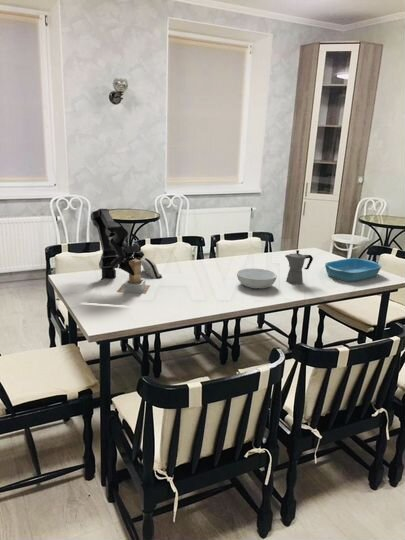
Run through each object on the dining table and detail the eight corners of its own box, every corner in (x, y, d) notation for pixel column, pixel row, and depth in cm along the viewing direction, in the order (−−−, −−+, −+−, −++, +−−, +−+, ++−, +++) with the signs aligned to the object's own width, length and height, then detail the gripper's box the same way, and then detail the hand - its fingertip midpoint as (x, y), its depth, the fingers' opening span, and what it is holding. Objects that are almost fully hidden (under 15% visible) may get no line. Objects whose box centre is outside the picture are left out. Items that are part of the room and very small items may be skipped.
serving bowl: (252, 277, 249) (253, 265, 247) (283, 287, 235) (284, 274, 233) (228, 284, 235) (228, 272, 233) (258, 295, 221) (260, 282, 219)
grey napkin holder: (162, 277, 241) (157, 261, 237) (154, 281, 239) (149, 265, 235) (152, 269, 255) (146, 253, 251) (144, 272, 254) (139, 257, 249)
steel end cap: (124, 292, 212) (124, 283, 211) (128, 286, 220) (128, 278, 219) (141, 293, 212) (141, 284, 210) (145, 288, 220) (145, 279, 218)
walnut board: (116, 293, 212) (116, 291, 212) (123, 285, 225) (123, 283, 225) (145, 295, 212) (145, 293, 212) (150, 287, 224) (150, 285, 224)
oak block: (129, 286, 214) (129, 260, 211) (135, 284, 218) (135, 259, 214) (134, 288, 213) (134, 262, 209) (140, 286, 216) (141, 260, 213)
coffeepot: (284, 283, 240) (287, 251, 235) (280, 278, 249) (284, 247, 244) (312, 284, 241) (316, 252, 236) (307, 279, 250) (311, 248, 245)
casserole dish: (348, 285, 244) (349, 273, 242) (316, 275, 261) (318, 263, 259) (386, 276, 265) (388, 265, 263) (355, 267, 282) (356, 256, 280)
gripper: (115, 241, 203) (133, 269, 201) (141, 235, 218) (158, 261, 216) (103, 254, 209) (120, 281, 207) (129, 248, 225) (146, 273, 222)
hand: (137, 274), depth 213 cm, fingers closed on oak block, 4 cm apart
